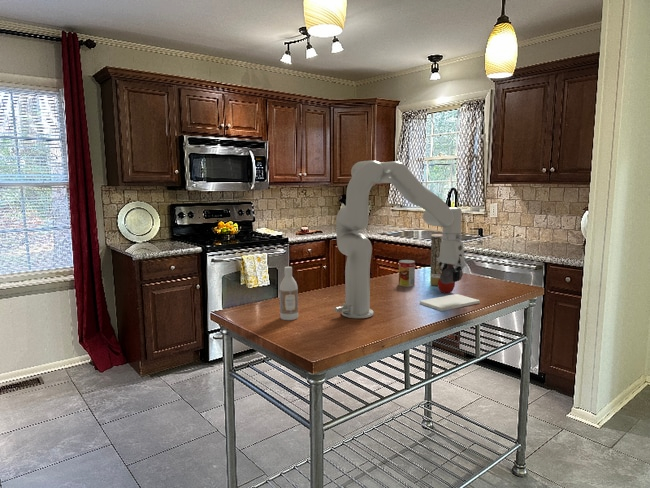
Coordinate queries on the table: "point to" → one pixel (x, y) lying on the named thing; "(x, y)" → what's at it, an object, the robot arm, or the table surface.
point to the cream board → (449, 302)
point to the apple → (445, 287)
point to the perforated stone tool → (448, 275)
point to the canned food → (406, 273)
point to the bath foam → (288, 296)
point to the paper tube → (435, 259)
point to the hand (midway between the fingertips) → (450, 279)
